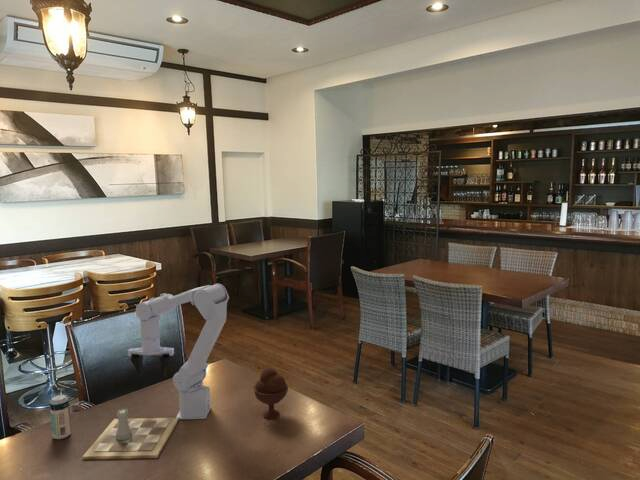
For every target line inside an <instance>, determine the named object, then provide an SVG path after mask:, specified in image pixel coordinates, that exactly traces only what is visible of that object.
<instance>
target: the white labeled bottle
mask: <svg viewBox="0 0 640 480" xmlns="http://www.w3.org/2000/svg"><path fill="white" fill-rule="evenodd" d="M49 411H50V412H49V413H50V423H51V434H52V435H51V436H52V438H53V439H55V440H64V439H65V438H68V436H70V435H71V434H72V426H71V425H72V424H71V414H70V402H69V397H68V396H67V395H66V394H62V393H61V394H56V395H55V396H52V397H51V399H50V401H49Z"/></svg>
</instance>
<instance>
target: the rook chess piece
mask: <svg viewBox="0 0 640 480" xmlns="http://www.w3.org/2000/svg"><path fill="white" fill-rule="evenodd" d="M129 414H130V413H129V411H128V409H127V408H121V409H118V410H117V413H116V417H118V418H117V419H118V421H119V425H118V429H117V431H116V438H117V439H118V440H126V439H128V438H130V437H131V435H132V429H131V428H130V426H129V425H128V419H129V416H128V415H129Z"/></svg>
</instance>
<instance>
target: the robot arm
mask: <svg viewBox="0 0 640 480" xmlns="http://www.w3.org/2000/svg"><path fill="white" fill-rule="evenodd" d="M228 293H229V292H228V291H227V289H226V286H224V285H223V284H221V283H214V284H213V285H211V284H208V285H203V286H200V287H195V288H193V289H189V290H187V291H183V292H181V293H179V294H176V295H173V294H170V293H166V292H164V293H160V294H159V296H158V297H151V298H149V300H146V301H143V302H139V303H138V304H137V305H136V306H135V307H136V308H135V315H136V317H137V318H138V319H139V321H140V323H139V324H140V325H139V326H140V340H141V341H140V342H141V343H140V344H141V347H134V348H132V347H131V348H130V347H129V349H127V355H128V356H127V357H130V362H131V363H132V364H133V366H134V368H135V371H136V372H137V376H138V378H142V377H143V374H144V368H143V362H144V361H143V360H144V359H143V358H144V356H160V358H159V362H160V366H161V367H160V368H161V377H162V378H164V377H165V376H166V375H167V369H168V365H169V362H170V359H171V357H172V356H174V354H175V348H174V347H166V346H161V337H160V319H161V316H162V315H164V314H168V313H171V312H173V311H175V310H176V309H177V306H180V305H183V304H186V303H191V305H192V306H195V308H196V309H197V311H198V312H199V313H200V315H201V316H202V318H203V319H204V320H206V321H205V324H204V325H203V327H202V330H201V331H200V333H199V337H197V340H196V342H195V344H194V346H193V349H192V351H191V353H190V355H189V357H188V359H187V360H186V362H185V363H183V365H181V367H180V368H179V370H178V371H177V372H176V373H174V375H173V377H172V383H173V386H174V387H175V389H176V390H177V392H178V404H179V411H178V413H177V415H176V416H175V418H179V420H205V419H207V417H208V415H209V412H210V410H211V408H212V406H211V389H210V387H209V386H207V385H206V386H205V385H203V384H204V380H205V378H206V377H207V368H208V364H207V360H208V358H209V356H210V354H211V352H212V350H213V348H214V346H215V344H216V342H217V340H218V338H219V336H220V335H221V332H222V330H223V327H224V325H225V324H226V322H227V309H228V308H227V307H228V302H229V299H230V296H229V294H228Z"/></svg>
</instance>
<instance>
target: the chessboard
mask: <svg viewBox="0 0 640 480" xmlns="http://www.w3.org/2000/svg"><path fill="white" fill-rule="evenodd" d="M179 420H180V419H179V418H176V417H149V418H148V417H144V418H143V417H142V418H141V417H140V418H138V417H136V418H135V417H134V418H128V425H129V426H130V428H131V429H132V435H131V437H130V438H128V439H126V440H118V439H117V438H116V431H117V429H118V425H119V421H118V418H114V419H113V420H112V421H111V422H110V423H109V425H108V426H107V427H106V428H105V429H104V431H102V432H101V434H100V435H99V436H98V437H97V439H96V440H95V441H94V442H93V443H92V444H91V446H90V447H89V448H88V450H87V451H86V452H85V453H84V454H83V455H82V460H111V459H112V460H115V459H116V460H118V459H123V460H125V459H157V458H158V457H159V455H160V454H161V452H162V450H163V448H164V447H165V445H166V443H167V442H168V439H169V438H170V436H171V434H172V433H173V431H174V429H175V427H176V425H177V424H178V422H179Z"/></svg>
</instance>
